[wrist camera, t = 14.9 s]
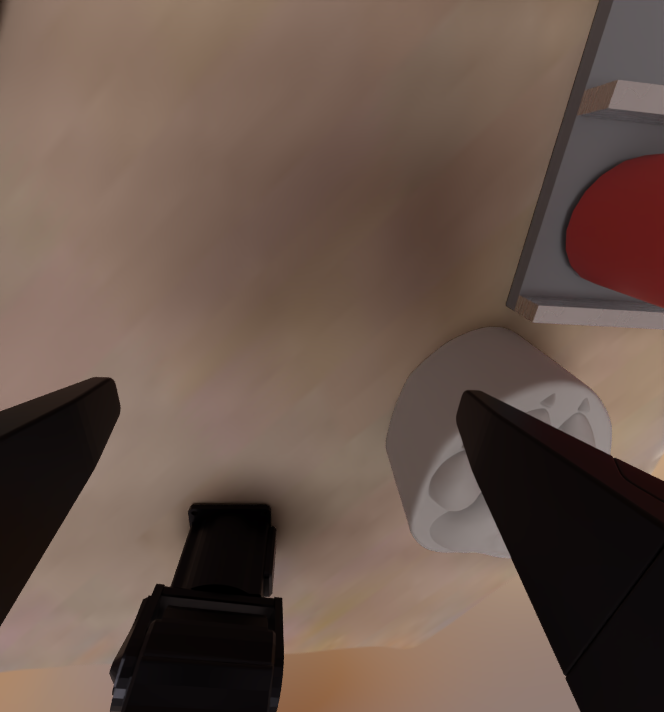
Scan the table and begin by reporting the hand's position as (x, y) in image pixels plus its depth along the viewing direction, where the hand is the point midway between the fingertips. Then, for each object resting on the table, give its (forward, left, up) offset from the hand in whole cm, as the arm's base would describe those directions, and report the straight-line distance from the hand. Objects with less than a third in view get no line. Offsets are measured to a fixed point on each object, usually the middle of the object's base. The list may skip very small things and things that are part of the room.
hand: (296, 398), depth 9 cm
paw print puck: (+12, -9, -13) cm, 20 cm away
